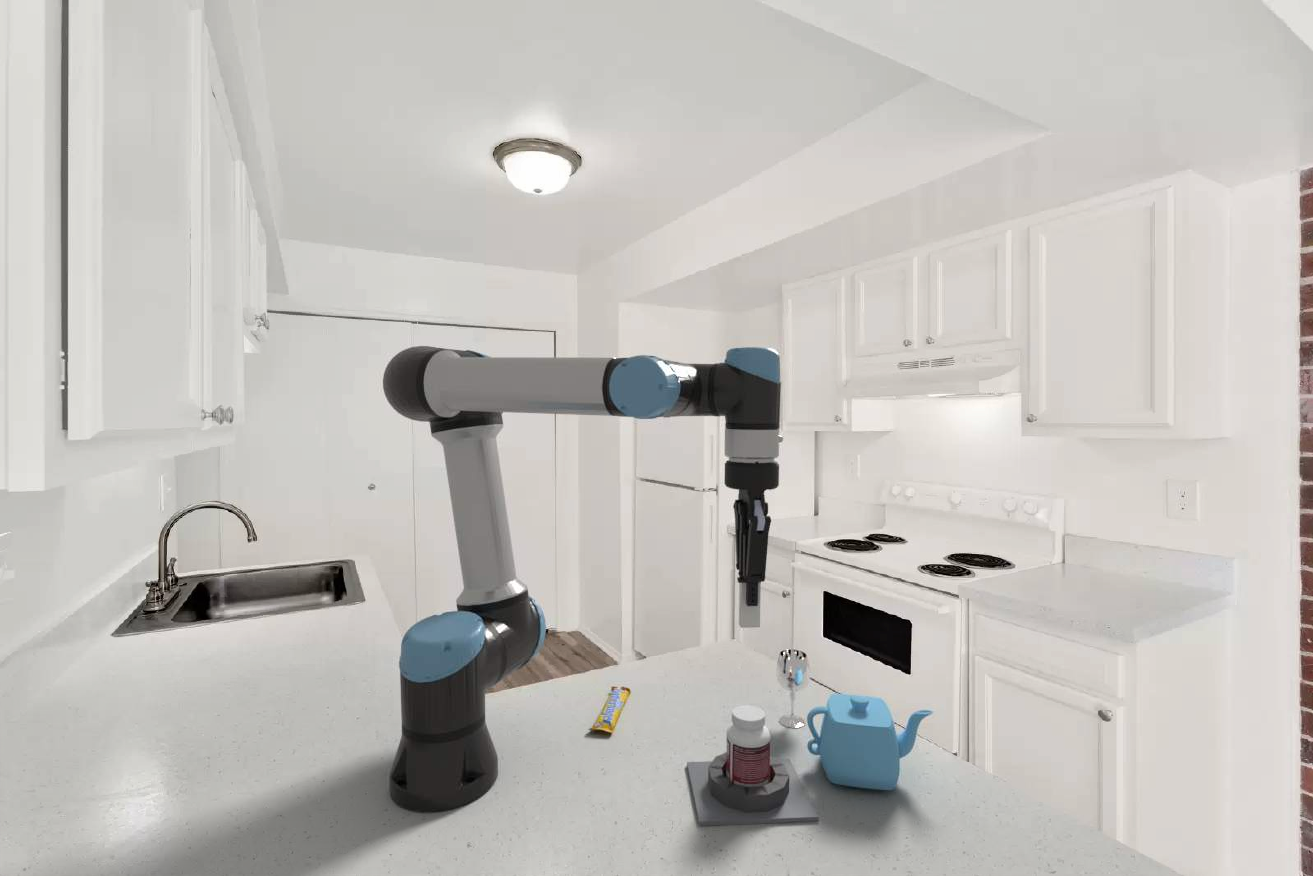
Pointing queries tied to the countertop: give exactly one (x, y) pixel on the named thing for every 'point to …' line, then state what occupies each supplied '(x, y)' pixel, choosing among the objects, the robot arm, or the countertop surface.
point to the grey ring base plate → (748, 795)
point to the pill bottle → (748, 748)
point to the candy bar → (612, 710)
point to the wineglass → (792, 680)
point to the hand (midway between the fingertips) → (749, 625)
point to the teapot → (861, 741)
